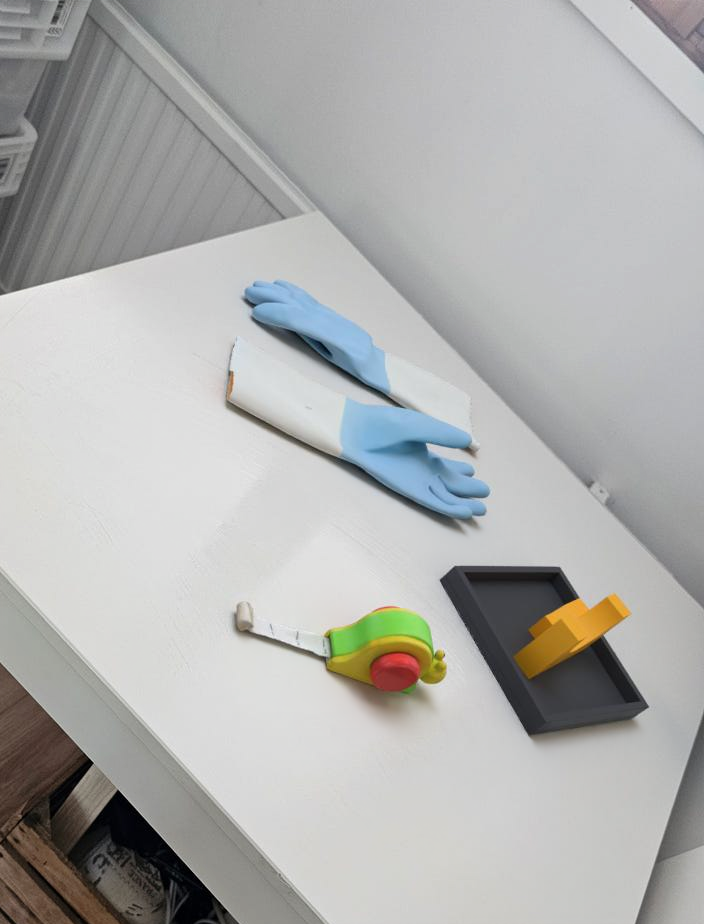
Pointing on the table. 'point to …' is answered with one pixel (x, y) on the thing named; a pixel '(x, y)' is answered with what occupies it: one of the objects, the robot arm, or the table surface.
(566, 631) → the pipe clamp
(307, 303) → the rubber gloves
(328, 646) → the toy measuring tape
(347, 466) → the table surface
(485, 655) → the dark grey tray
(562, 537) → the table surface
